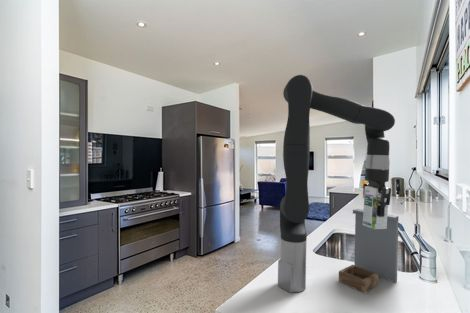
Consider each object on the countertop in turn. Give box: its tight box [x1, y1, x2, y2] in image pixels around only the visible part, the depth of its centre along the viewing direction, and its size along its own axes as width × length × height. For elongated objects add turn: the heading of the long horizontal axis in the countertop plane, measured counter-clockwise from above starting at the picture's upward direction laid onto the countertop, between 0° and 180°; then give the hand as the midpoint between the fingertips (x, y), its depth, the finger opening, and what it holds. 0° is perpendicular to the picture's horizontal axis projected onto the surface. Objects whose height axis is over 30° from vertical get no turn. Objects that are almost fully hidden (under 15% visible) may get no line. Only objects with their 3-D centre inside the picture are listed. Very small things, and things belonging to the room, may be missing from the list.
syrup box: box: [363, 186, 389, 229], centre depth 93 cm, size 6×6×14 cm
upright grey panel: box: [352, 208, 399, 283], centre depth 104 cm, size 4×16×25 cm, turn 37°
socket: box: [338, 264, 380, 294], centre depth 97 cm, size 10×10×4 cm
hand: (375, 214), depth 93 cm, fingers closed on syrup box, 6 cm apart
